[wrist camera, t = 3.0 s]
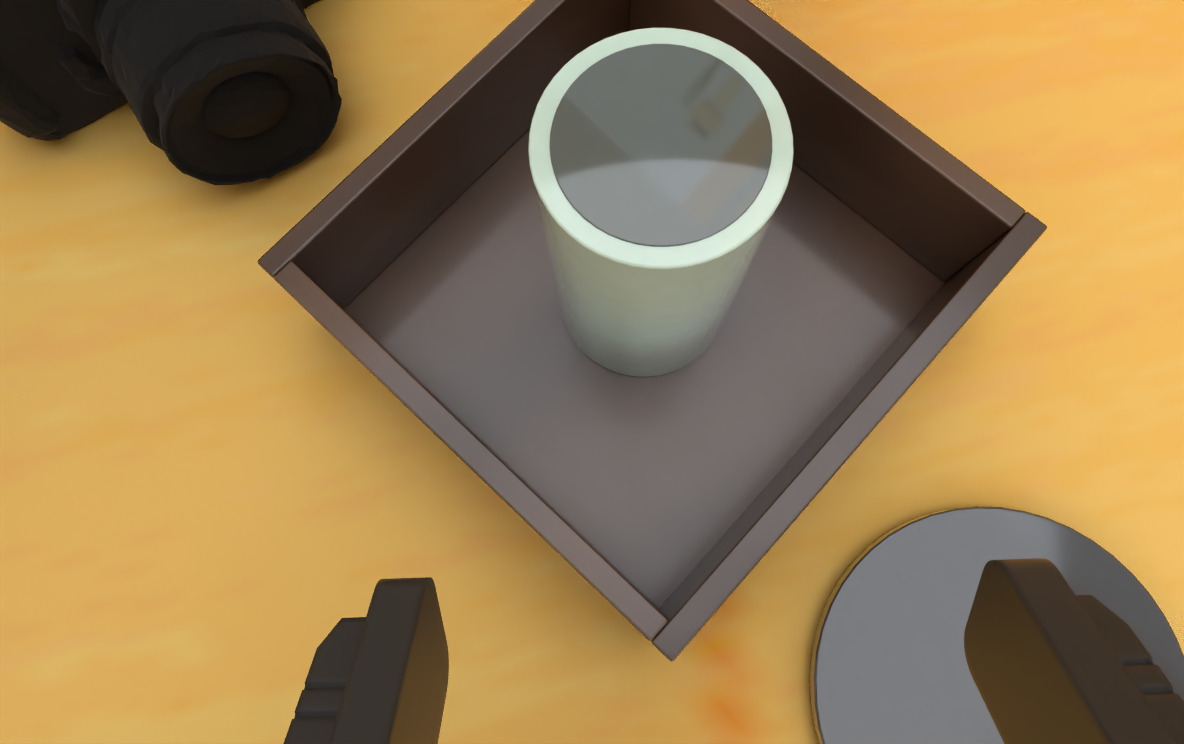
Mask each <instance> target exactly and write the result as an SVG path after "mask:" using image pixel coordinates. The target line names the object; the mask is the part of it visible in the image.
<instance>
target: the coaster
mask: <svg viewBox="0 0 1184 744" xmlns="http://www.w3.org/2000/svg"><path fill="white" fill-rule="evenodd" d="M1033 558H1045V559H1048V560H1049V561H1051V562H1052V563H1053V564H1054V565H1055V566H1056V567H1057V568H1058V570H1059V571H1060V573H1061V574H1062V576H1063V577H1064V579H1065V580H1066V582H1067V583H1068V584H1069V586H1070V587H1071V589H1072V590H1073V592H1074V593H1075V595H1092V596H1094V597H1095V598H1096V599H1097V600H1099V601H1100V602H1101V603H1102V604H1104V605H1105V606H1106V607H1107V608H1109V609H1110V610H1111V611H1112V612H1114V613H1115V614H1116V615H1117V616H1119V617H1120V618H1121V619H1122V620H1124V621H1125V622H1126V623H1127V624H1128V625H1129V626H1130V628H1131V629H1132V630H1133V632H1134V633H1135V635H1136V636H1137V637H1138V639H1139V640H1140V641H1141V643H1142V644H1143V646H1144V647H1145V648H1146V650H1147V651H1148V652H1149V654H1150V655H1151V657H1152V658H1153V659H1152V661H1153V664H1154V665H1158V666H1159V668H1160V669H1161V670H1162V672H1163V673H1164V675H1165V676H1166V677H1167V679H1168V680H1169V681H1170V683H1171V684H1172V686H1173V691H1174V693H1175V694H1179V695H1180V697H1181V698H1182V699H1183V701H1184V656H1183V653H1182V650H1181V648H1180V645H1179V643H1178V640H1177V638H1176V636H1175V634H1174V632H1173V630H1172V629H1171V627H1170V625H1169V623H1168V621H1167V619H1166V617H1165V615H1164V614H1163V612H1162V611H1161V609H1160V608H1159V607H1158V605H1157V604H1156V602H1155V601H1154V599H1153V598H1152V596H1151V595H1150V593H1149V592H1148V591H1147V590H1146V589H1145V588H1144V586H1143V585H1142V584H1141V583H1140V582H1139V581H1138V579H1137V578H1136V577H1135V576H1134V575H1133V574H1132V573H1131V572H1130V571H1129V570H1128V569H1127V568H1126V567H1125V566H1124V565H1123V564H1122V563H1120V562H1119V561H1118V560H1117V559H1116V558H1115V557H1114V556H1113V555H1112V554H1110V553H1109V552H1107V551H1106V550H1105V549H1103V548H1102V547H1101V546H1099V545H1098V544H1097V543H1095V542H1094V541H1093V540H1091V539H1089V538H1087V537H1086V536H1084V535H1082V534H1080V533H1079V532H1077V531H1075V530H1073V529H1072V528H1070V527H1068V526H1065V525H1063V524H1061V523H1058V522H1056V521H1054V520H1051V519H1049V518H1046V517H1043V516H1039V515H1036V514H1032V513H1029V512H1025V511H1021V510H1015V509H1008V508H1002V507H977V506H975V507H966V508H956V509H948V510H943V511H939V512H935V513H931V514H927V515H923V516H921V517H918V518H916V519H913V520H911V521H908V522H906V523H903V524H902V525H900V526H898V527H896V528H895V529H893V530H891V531H889V532H888V533H886V534H884V535H883V536H881V537H880V538H879V539H878V540H876V541H875V542H874V543H872V544H871V545H870V546H869V547H867V548H866V549H865V550H864V551H863V552H862V553H861V554H860V555H859V556H858V557H857V558H856V559H855V560H854V561H853V562H852V564H851V565H850V566H849V567H848V569H847V570H846V571H845V573H844V574H843V575H842V577H841V578H840V580H839V581H838V582H837V584H836V586H835V588H834V590H833V591H832V593H831V595H830V597H829V599H828V601H827V603H826V605H825V607H824V610H823V613H822V616H821V618H820V621H819V624H818V626H817V631H816V635H815V640H814V644H813V648H812V657H811V667H810V700H811V707H812V713H813V720H814V726H815V730H816V733H817V737H818V740H819V744H1004V742H1003V740H1002V738H1001V736H1000V734H999V732H998V729H997V727H996V725H995V723H994V721H993V719H992V717H991V715H990V713H989V711H988V709H987V707H986V705H985V702H984V700H983V698H982V696H981V694H980V692H979V690H978V688H977V686H976V684H975V682H974V680H973V678H972V675H971V673H970V670H969V667H968V664H967V661H966V656H965V649H964V632H965V627H966V624H967V621H968V617H969V614H970V611H971V608H972V604H973V601H974V598H975V595H976V591H977V588H978V585H979V582H980V578H981V575H982V572H983V569H984V566H985V565H986V563H987V562H988V561H990V560H1004V559H1033Z"/></svg>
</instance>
